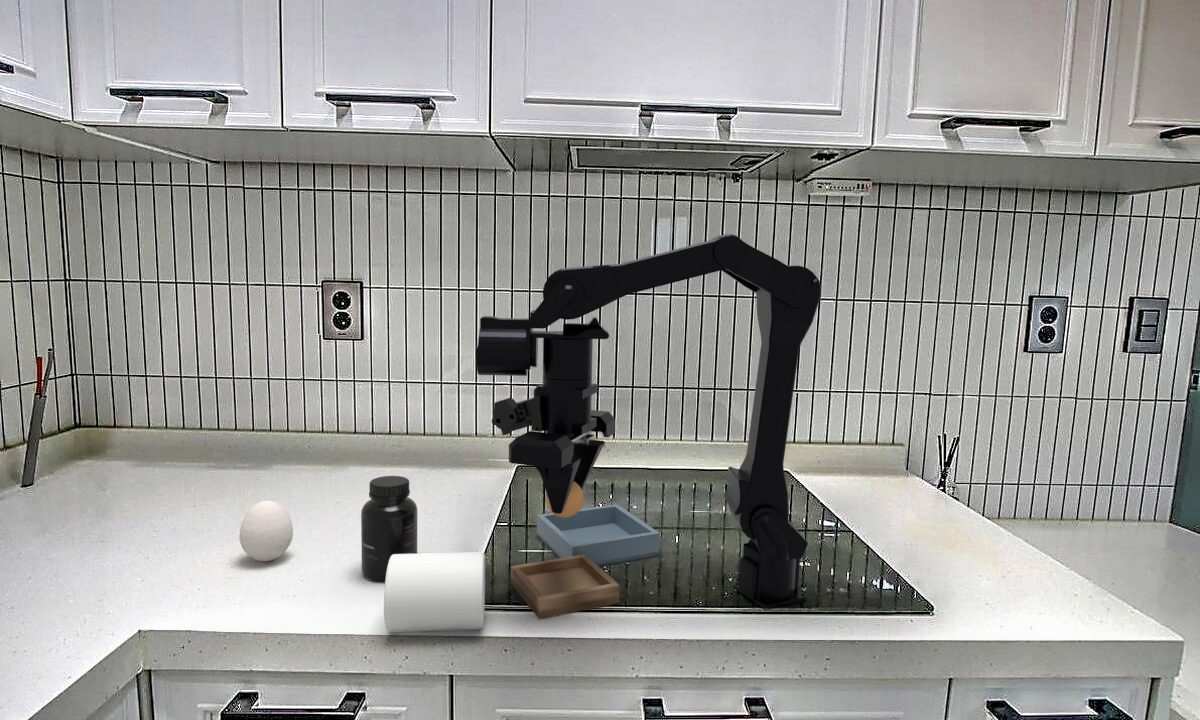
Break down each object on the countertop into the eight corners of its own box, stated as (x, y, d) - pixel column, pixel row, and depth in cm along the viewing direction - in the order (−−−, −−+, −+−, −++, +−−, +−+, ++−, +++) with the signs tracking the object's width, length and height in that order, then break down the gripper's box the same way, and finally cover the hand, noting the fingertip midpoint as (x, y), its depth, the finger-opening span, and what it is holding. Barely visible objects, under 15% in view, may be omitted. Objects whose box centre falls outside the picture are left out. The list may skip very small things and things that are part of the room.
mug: (482, 643, 75) (482, 569, 74) (383, 647, 74) (382, 572, 73) (486, 591, 87) (486, 528, 86) (401, 594, 86) (400, 530, 85)
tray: (584, 570, 93) (584, 554, 93) (619, 603, 85) (619, 585, 84) (510, 583, 89) (510, 566, 89) (539, 619, 80) (539, 600, 80)
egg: (284, 546, 99) (282, 490, 98) (301, 561, 94) (299, 502, 93) (234, 558, 95) (231, 500, 94) (249, 574, 90) (246, 513, 89)
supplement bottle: (352, 581, 89) (349, 486, 87) (376, 559, 95) (374, 471, 94) (405, 585, 88) (404, 490, 86) (426, 563, 95) (425, 474, 93)
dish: (616, 524, 110) (617, 504, 110) (659, 555, 99) (659, 533, 98) (536, 536, 105) (537, 515, 104) (572, 570, 93) (572, 547, 93)
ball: (574, 508, 89) (574, 472, 88) (589, 520, 85) (590, 482, 84) (539, 512, 87) (540, 476, 86) (553, 525, 83) (554, 487, 82)
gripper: (537, 362, 95) (536, 477, 97) (465, 382, 78) (465, 522, 80) (617, 368, 91) (614, 487, 93) (560, 390, 74) (558, 537, 76)
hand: (565, 506), depth 86 cm, fingers closed on ball, 4 cm apart
